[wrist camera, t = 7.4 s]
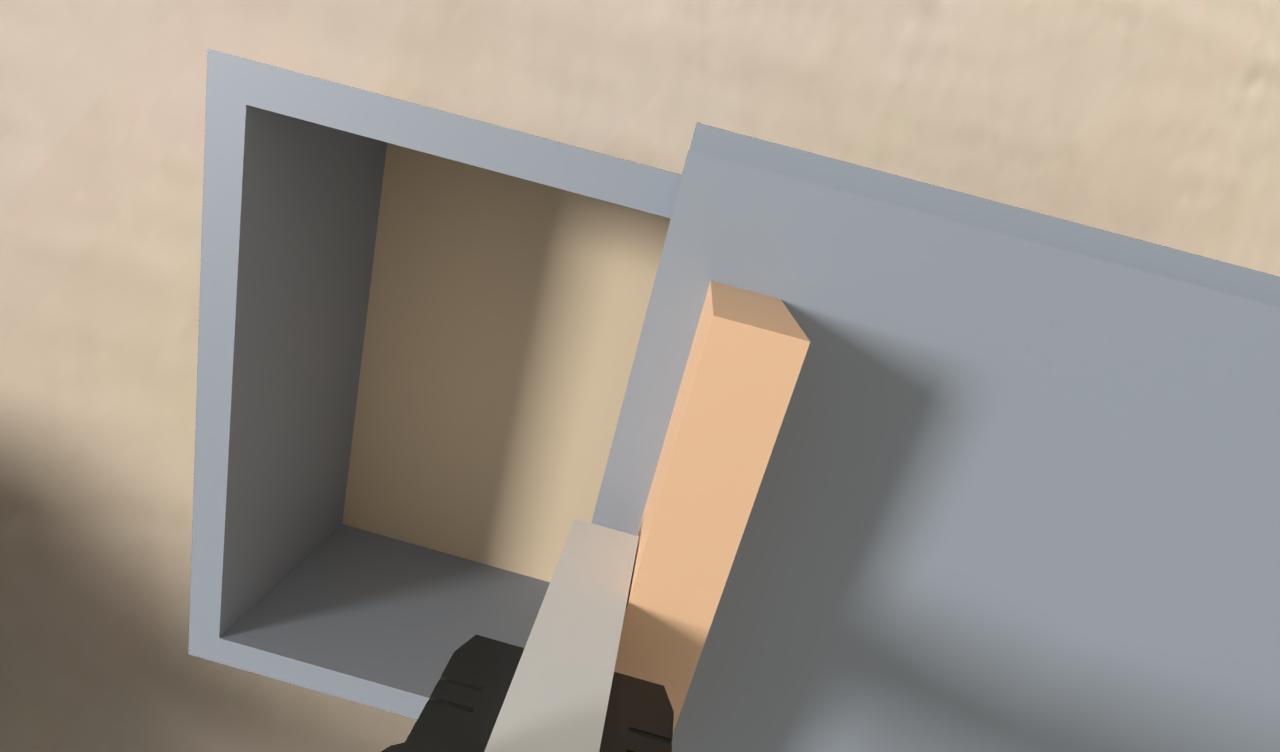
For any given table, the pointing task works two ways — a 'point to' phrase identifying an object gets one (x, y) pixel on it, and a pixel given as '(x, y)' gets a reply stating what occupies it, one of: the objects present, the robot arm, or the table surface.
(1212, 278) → the lid
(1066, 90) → the table surface
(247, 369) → the open gray box
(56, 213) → the table surface
